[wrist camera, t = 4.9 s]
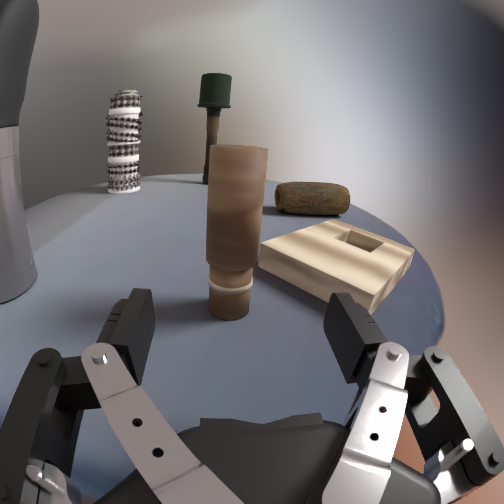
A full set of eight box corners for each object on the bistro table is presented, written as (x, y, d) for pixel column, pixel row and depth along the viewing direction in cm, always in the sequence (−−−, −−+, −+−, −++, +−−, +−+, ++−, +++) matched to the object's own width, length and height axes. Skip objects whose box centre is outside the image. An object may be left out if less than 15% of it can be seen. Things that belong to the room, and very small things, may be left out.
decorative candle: (119, 185, 68) (121, 94, 58) (148, 186, 67) (151, 91, 57) (99, 193, 60) (100, 92, 50) (129, 195, 59) (131, 87, 49)
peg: (227, 329, 23) (237, 149, 17) (196, 305, 25) (198, 144, 19) (261, 310, 25) (280, 150, 19) (230, 290, 28) (240, 144, 22)
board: (364, 321, 24) (374, 295, 23) (257, 266, 33) (260, 242, 32) (408, 268, 36) (414, 249, 35) (330, 236, 44) (333, 218, 43)
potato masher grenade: (230, 183, 77) (238, 77, 64) (215, 188, 69) (224, 71, 57) (203, 179, 79) (210, 78, 67) (187, 184, 72) (194, 73, 59)
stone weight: (333, 209, 61) (337, 180, 58) (349, 220, 55) (355, 188, 52) (269, 207, 57) (273, 175, 54) (281, 219, 51) (285, 183, 48)
